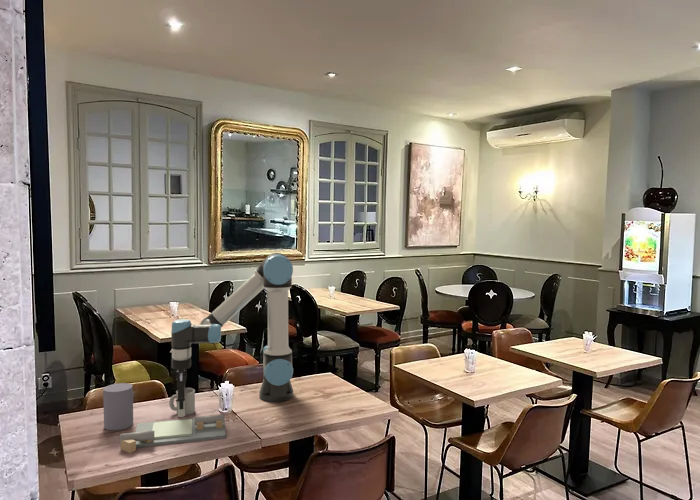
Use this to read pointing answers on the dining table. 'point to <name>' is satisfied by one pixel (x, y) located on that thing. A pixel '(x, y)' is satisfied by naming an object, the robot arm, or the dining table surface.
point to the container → (118, 406)
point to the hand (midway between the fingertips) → (181, 412)
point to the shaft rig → (174, 432)
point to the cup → (188, 401)
